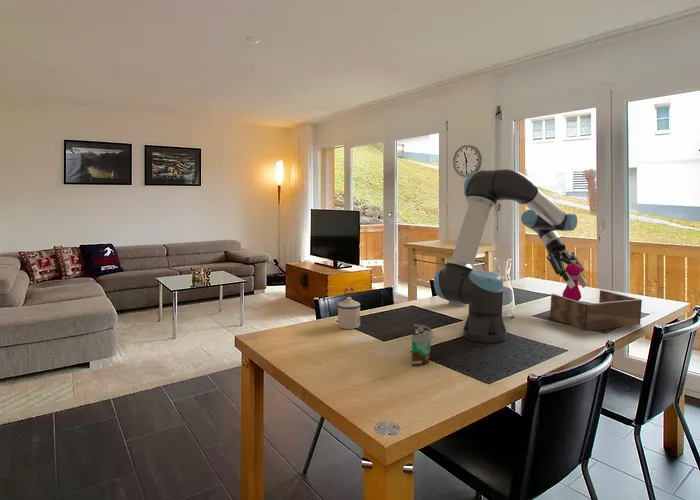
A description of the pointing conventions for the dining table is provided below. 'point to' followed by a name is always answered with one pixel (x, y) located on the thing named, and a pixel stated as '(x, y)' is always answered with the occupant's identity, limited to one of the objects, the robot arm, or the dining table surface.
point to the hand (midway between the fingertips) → (578, 286)
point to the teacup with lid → (349, 314)
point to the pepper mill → (574, 274)
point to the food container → (421, 345)
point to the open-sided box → (597, 311)
